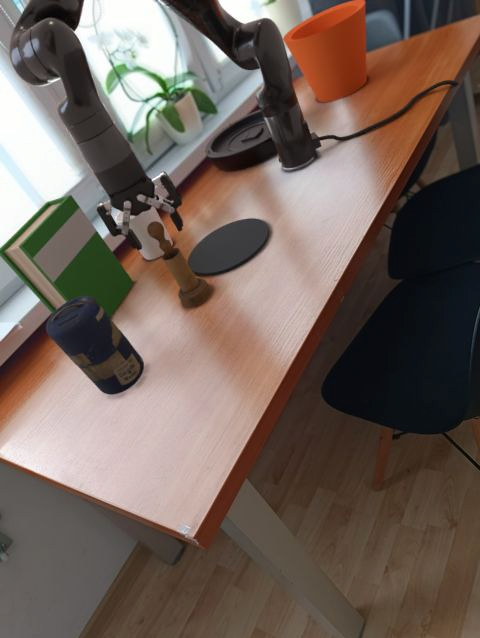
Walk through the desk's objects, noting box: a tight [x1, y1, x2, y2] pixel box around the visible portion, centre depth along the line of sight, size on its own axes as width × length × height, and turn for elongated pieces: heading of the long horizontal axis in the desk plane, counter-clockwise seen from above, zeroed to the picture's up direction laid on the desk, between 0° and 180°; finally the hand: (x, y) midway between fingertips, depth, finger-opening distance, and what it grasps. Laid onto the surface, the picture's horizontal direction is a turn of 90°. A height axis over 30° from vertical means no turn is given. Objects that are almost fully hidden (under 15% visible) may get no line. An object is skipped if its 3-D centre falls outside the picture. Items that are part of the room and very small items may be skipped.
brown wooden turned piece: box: [147, 221, 212, 308], centre depth 94 cm, size 7×6×18 cm
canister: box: [45, 296, 145, 396], centre depth 84 cm, size 10×10×18 cm
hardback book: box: [0, 194, 135, 318], centre depth 105 cm, size 18×7×24 cm, turn 161°
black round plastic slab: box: [204, 109, 278, 172], centre depth 146 cm, size 30×6×30 cm
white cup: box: [114, 206, 174, 261], centre depth 120 cm, size 10×10×12 cm
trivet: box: [187, 217, 271, 277], centre depth 109 cm, size 20×20×1 cm
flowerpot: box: [282, 0, 368, 103], centre depth 148 cm, size 25×25×20 cm
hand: (160, 238), depth 91 cm, fingers open, 8 cm apart
